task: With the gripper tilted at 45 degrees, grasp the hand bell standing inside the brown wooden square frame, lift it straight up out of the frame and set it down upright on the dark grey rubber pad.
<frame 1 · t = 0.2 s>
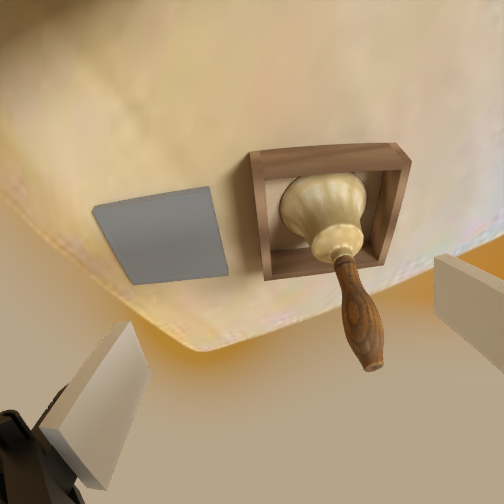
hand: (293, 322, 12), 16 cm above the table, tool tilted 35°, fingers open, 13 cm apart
hand bell: (323, 203, 28), resting in brown wooden square frame
brown wooden square frame: (324, 205, 28), on the table
grey rubber pad: (164, 240, 30), on the table
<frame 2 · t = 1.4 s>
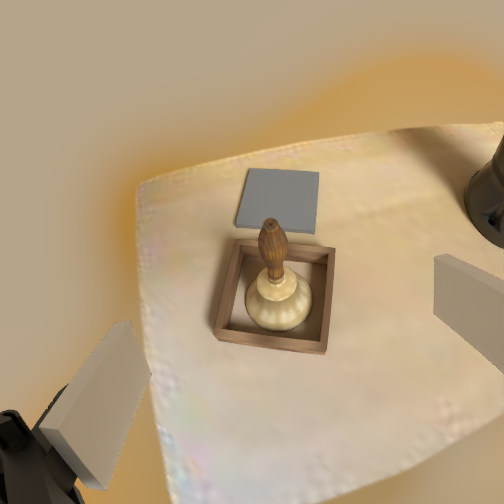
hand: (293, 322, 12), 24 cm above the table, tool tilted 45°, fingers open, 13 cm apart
hand bell: (279, 300, 39), resting in brown wooden square frame
brown wooden square frame: (278, 299, 38), on the table
grey rubber pad: (280, 199, 46), on the table
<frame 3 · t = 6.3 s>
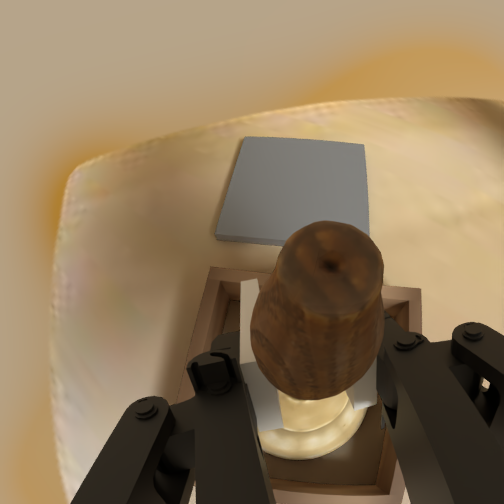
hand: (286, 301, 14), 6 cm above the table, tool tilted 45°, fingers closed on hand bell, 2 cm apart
hand bell: (300, 393, 17), resting in brown wooden square frame, touching gripper
brown wooden square frame: (300, 394, 17), on the table
grey rubber pad: (298, 189, 25), on the table
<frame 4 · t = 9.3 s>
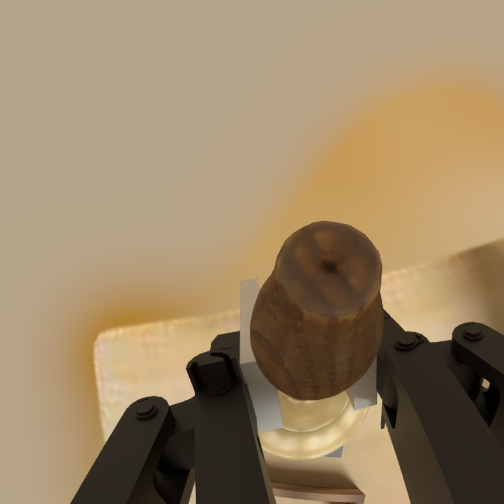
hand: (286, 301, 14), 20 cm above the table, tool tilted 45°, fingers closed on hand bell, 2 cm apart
hand bell: (301, 394, 17), point 14 cm above the table, touching gripper
when the fingers open (6 cm above the table, at t = 12.6 s): hand bell stays where it is, resting on grey rubber pad.
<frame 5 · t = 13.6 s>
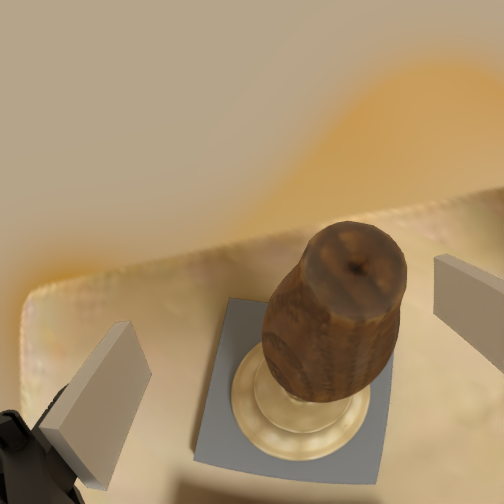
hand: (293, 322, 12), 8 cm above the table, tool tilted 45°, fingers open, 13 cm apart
hand bell: (301, 394, 17), point 1 cm above the table, touching grey rubber pad
grey rubber pad: (300, 394, 18), on the table
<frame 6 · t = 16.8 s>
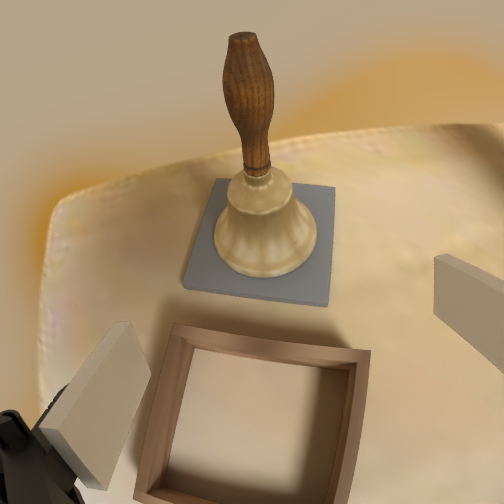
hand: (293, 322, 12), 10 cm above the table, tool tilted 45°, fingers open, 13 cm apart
hand bell: (265, 233, 25), point 1 cm above the table, touching grey rubber pad
brown wooden square frame: (255, 436, 18), on the table
grey rubber pad: (265, 236, 26), on the table
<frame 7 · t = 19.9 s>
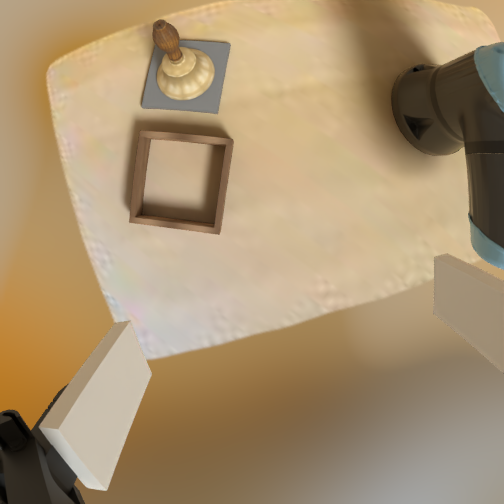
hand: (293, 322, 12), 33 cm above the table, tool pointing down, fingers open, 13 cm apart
hand bell: (185, 74, 38), point 1 cm above the table, touching grey rubber pad
brown wooden square frame: (182, 180, 42), on the table
grey rubber pad: (186, 75, 39), on the table
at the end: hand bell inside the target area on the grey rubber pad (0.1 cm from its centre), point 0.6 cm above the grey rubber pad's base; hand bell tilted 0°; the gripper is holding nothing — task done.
